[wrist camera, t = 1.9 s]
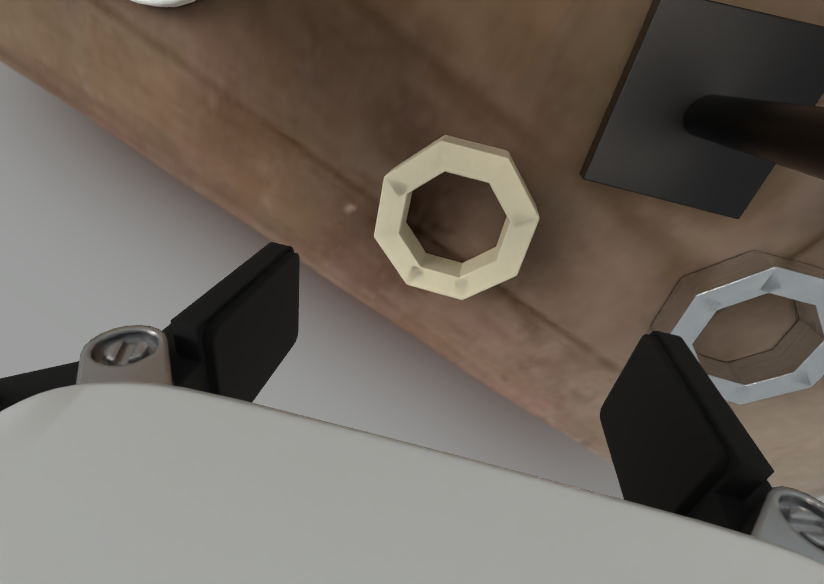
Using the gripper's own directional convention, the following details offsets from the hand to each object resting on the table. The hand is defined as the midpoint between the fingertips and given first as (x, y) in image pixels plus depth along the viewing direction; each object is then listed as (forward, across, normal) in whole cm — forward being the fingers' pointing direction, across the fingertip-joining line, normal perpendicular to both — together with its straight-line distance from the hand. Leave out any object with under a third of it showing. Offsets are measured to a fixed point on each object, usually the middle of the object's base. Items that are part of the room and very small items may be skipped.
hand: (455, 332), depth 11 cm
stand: (+17, -11, -6) cm, 21 cm away
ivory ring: (+17, +1, +3) cm, 17 cm away
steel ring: (+17, -19, +6) cm, 26 cm away
